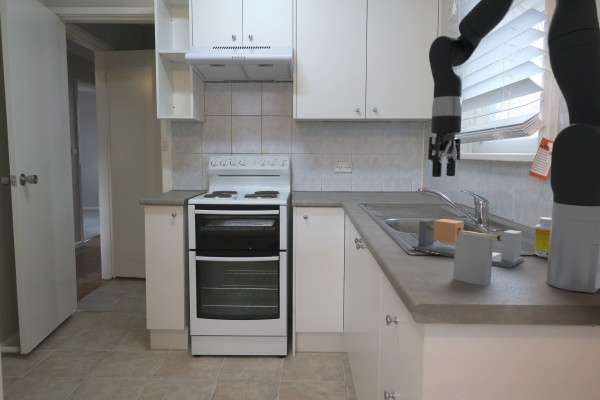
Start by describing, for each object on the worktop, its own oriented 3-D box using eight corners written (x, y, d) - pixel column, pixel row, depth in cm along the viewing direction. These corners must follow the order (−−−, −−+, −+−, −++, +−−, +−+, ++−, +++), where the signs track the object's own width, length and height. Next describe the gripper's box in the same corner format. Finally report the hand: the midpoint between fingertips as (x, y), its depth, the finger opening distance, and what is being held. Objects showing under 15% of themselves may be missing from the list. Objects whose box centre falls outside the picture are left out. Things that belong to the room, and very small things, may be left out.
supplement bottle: (549, 259, 114) (553, 220, 113) (529, 254, 119) (531, 217, 118) (560, 256, 117) (564, 219, 116) (539, 252, 122) (542, 216, 121)
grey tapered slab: (485, 285, 90) (489, 238, 89) (452, 279, 94) (455, 233, 93) (490, 281, 93) (493, 235, 92) (458, 276, 97) (461, 231, 96)
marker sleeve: (462, 240, 120) (463, 221, 119) (454, 242, 116) (455, 223, 116) (442, 236, 124) (443, 218, 124) (433, 239, 120) (434, 220, 120)
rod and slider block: (523, 261, 112) (525, 230, 111) (509, 268, 105) (511, 235, 104) (429, 244, 130) (430, 217, 129) (412, 249, 122) (413, 221, 122)
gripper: (448, 112, 109) (445, 178, 110) (471, 116, 119) (468, 176, 121) (420, 114, 114) (418, 176, 115) (444, 118, 124) (442, 175, 126)
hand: (443, 176), depth 118 cm, fingers open, 8 cm apart
